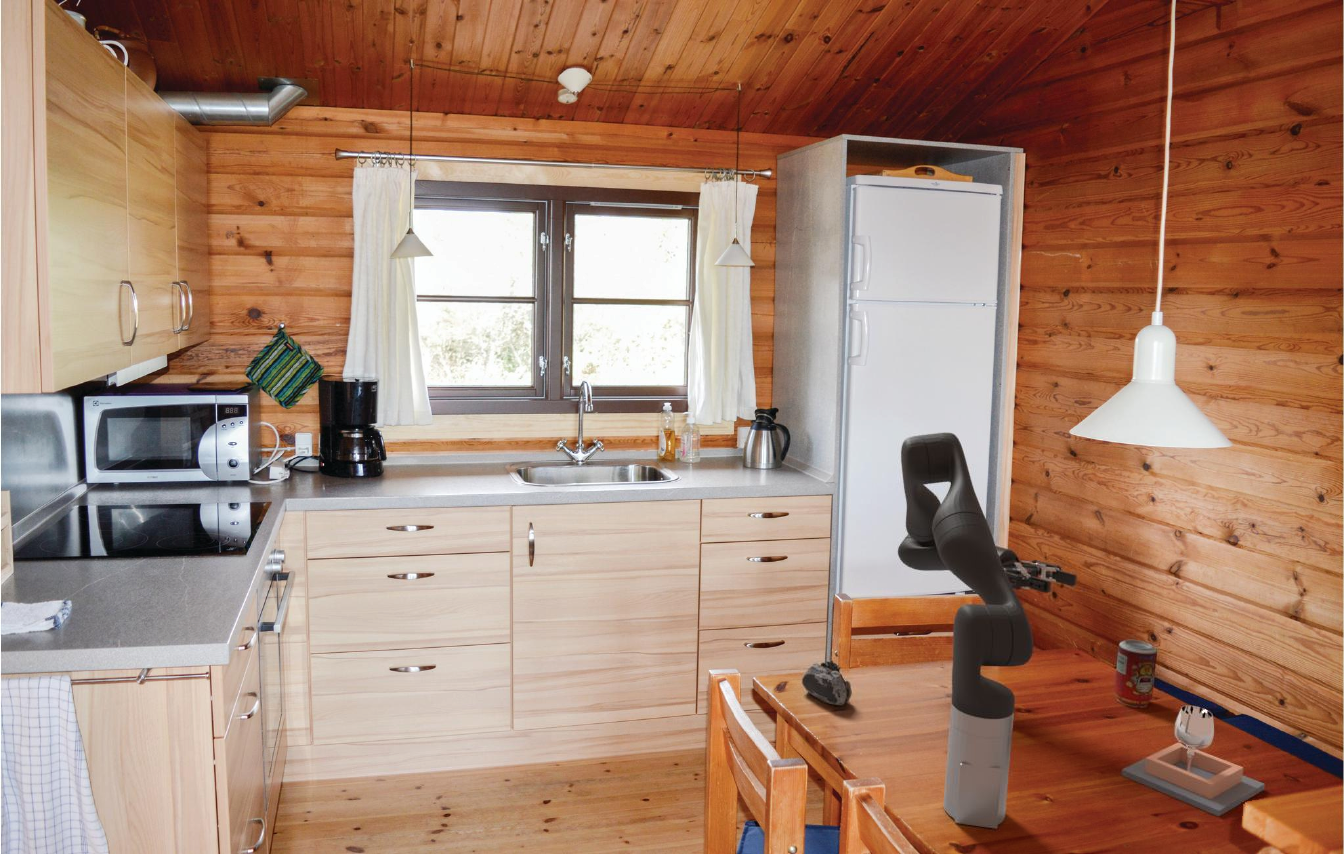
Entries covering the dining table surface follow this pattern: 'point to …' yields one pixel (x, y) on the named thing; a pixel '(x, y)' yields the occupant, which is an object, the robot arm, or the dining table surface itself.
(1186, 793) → the glass holder
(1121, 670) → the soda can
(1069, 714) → the dining table surface
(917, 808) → the dining table surface
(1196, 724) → the wineglass
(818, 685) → the dark grey rock
